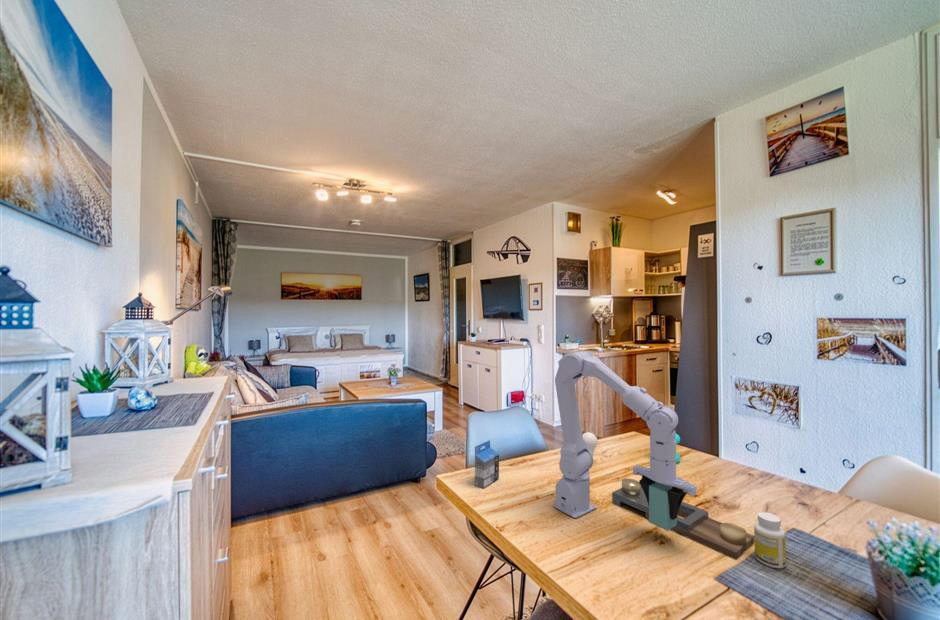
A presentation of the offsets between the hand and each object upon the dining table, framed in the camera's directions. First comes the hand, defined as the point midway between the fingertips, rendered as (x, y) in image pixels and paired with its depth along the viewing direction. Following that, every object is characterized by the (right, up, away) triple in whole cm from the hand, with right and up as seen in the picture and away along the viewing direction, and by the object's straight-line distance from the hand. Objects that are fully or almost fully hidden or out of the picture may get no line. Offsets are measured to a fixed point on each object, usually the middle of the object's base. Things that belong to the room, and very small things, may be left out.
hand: (662, 513), depth 91 cm
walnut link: (+11, -6, +4) cm, 13 cm away
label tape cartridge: (-42, -7, +30) cm, 52 cm away
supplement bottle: (+20, -6, -8) cm, 22 cm away
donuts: (+27, -7, +50) cm, 57 cm away
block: (0, -3, 0) cm, 2 cm away
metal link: (+5, -6, +12) cm, 14 cm away
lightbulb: (-3, -7, +47) cm, 48 cm away
